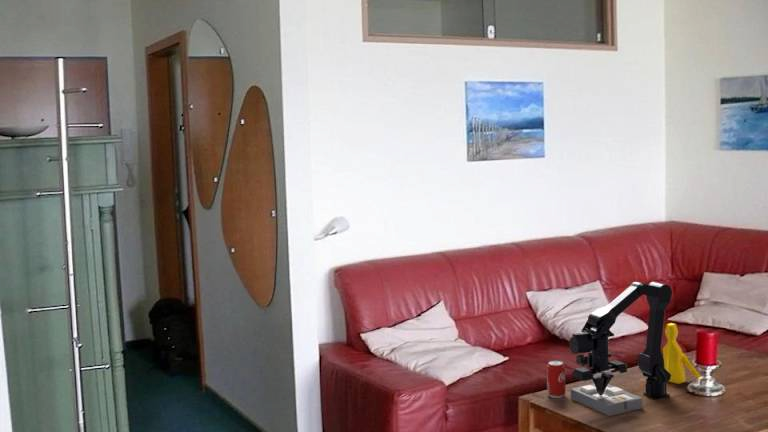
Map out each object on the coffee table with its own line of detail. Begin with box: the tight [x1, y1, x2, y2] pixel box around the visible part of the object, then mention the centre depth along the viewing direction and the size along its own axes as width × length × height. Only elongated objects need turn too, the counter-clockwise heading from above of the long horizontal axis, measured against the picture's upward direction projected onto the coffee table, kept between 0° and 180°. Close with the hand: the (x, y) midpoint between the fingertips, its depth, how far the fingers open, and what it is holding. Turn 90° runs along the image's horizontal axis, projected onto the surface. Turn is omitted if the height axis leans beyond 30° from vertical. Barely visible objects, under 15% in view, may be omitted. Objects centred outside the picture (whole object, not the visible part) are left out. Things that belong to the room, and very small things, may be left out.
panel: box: [570, 383, 643, 417], centre depth 283 cm, size 14×20×4 cm
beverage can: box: [546, 360, 566, 399], centre depth 292 cm, size 6×6×12 cm
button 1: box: [580, 384, 597, 394], centre depth 286 cm, size 4×4×2 cm
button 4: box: [606, 386, 624, 396], centre depth 283 cm, size 4×4×2 cm
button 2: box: [592, 394, 609, 399], centre depth 281 cm, size 4×4×2 cm
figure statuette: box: [662, 322, 701, 385], centre depth 301 cm, size 18×8×22 cm, turn 40°
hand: (600, 395), depth 281 cm, fingers closed
